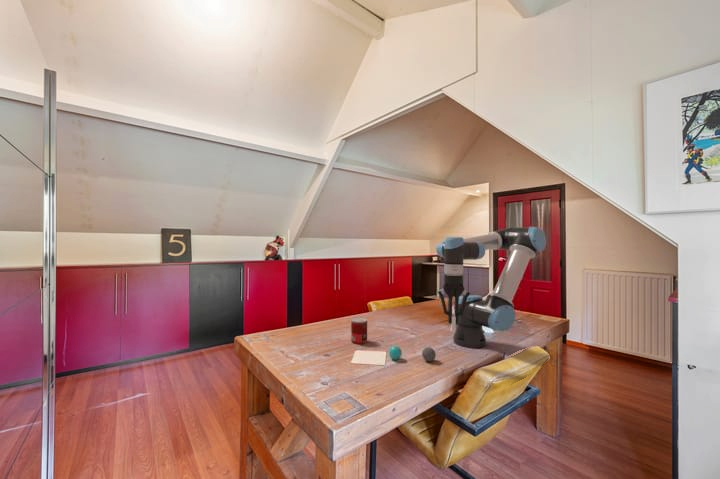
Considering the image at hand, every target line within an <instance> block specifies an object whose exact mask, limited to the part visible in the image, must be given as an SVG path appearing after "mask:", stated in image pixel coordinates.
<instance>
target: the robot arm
mask: <svg viewBox="0 0 720 479" xmlns="http://www.w3.org/2000/svg"><path fill="white" fill-rule="evenodd" d="M546 246H547V237H546V234H545V232H544V230H543V229H542V228H541V227H538V226H526V227H523V226H522V227H521V226H520V227H507V228H501V229H498V230H495V231H490V232H488V233H487V234H484V235H483V234H482V235H478V236H473V237H472V236H471V237H467V238H464V237H459V236H448V237H445V239H444V241H440V242H439V243H438V244H437V245H436V254H437V255H438V256H439V257H440V258H444V262H443V263H444V264H443V265H444V267H443V270H444V272H443V273H444V275H443V276H444V278H443V286H442V289H441V288H440V289H439V290H437V293H438V295H439V297H440V302H441V306H442V311H443V313H444V314H445V315H447V319H448V320H447V322H448V324H450V332H451V333H454V334H453V338H452V339H453V340H452V341H453V343H454V344H456V345H459V346H461V347H465V348H470V349H473V348H474V349H477V348H478V349H480V348H483V347H484V348H485V347H486V345H487V338H486V335H485V333H484V329H483V327H485V328H488V329H491V330H493V331H499V332H505V331H508V330H509V329H510V328H512V327H513V325H514V323H515V321H516V309H515V308H514V307H515V306H514V303H513V300H514V297H515V295H516V293H517V290H518V288H519V285H520V283H521V281H522V279H523V276H524V274H525V271H526V269H527V267H528V264H529V262H530V259H534V258H536V256H537V253H538V252H543V251H544V250H545V248H546ZM487 250H488V251H489V250H492V251H493V250H494V251H497V250H503V251H504V250H506V251H507V250H508V251H510V254H509V256H508V258H507V260H506V263H505V265H504V267H503V269H502V271H501V274H500V276H499V278H498V281H497V283H496V284H495V287H494V289H493V291H492V293H490V294H487V296H486V298H485V300H484V298H483V296H482V295H478V294H477V295H476V294H474V295H473V294H470V293H471V292H469V291H467V290H466V289H465V287H464V275H463V274H464V260H466V261H467V260H469V261H470V260H475V261H476V260H480V259H483V258H484V256H485V255H486V251H487ZM444 294H446V296H447V300H448V301H447V303H448V304H447V305H446V300H445V296H444ZM453 298H454V308H453ZM453 309H454V310H453ZM453 311H454V312H453ZM453 313H454V314H453Z"/></svg>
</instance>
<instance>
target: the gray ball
mask: <svg viewBox="0 0 720 479" xmlns="http://www.w3.org/2000/svg"><path fill="white" fill-rule="evenodd" d="M436 353H437V352H436V351H435V349H434V348H432V347H425V348H424V349H423V350H422V353H421V354H422V358H423V359H424V360H425V361H426V362H432V361H434V360H435V359H436Z"/></svg>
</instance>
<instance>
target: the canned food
mask: <svg viewBox="0 0 720 479" xmlns="http://www.w3.org/2000/svg"><path fill="white" fill-rule="evenodd" d="M350 324H351V325H350V326H351V328H350V330H351V332H350V334H351V337H350V340H351V343H352V344H355V345H363V344H366V343H367V342H368V318H366V317H365V318H364V317H353V318H352V319H351V322H350Z"/></svg>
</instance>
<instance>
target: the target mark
mask: <svg viewBox="0 0 720 479" xmlns="http://www.w3.org/2000/svg"><path fill="white" fill-rule="evenodd" d="M386 358H387V351H377V350H355V351H354V354H353V356H352V358H351V361H350V364H354V365H370V366H386V360H387V359H386Z"/></svg>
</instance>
